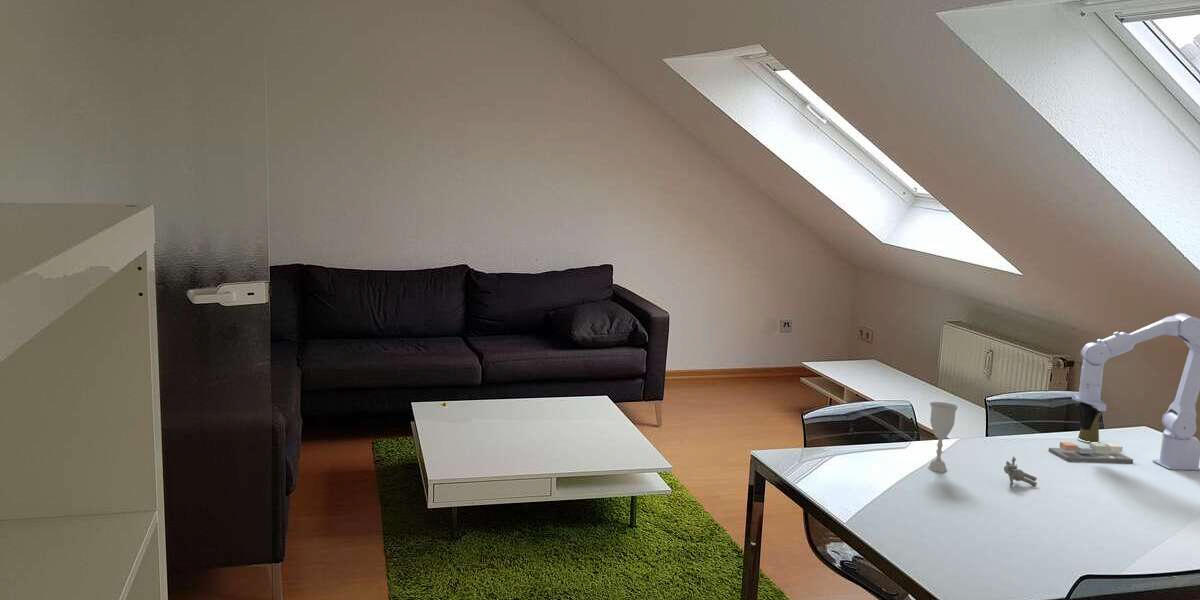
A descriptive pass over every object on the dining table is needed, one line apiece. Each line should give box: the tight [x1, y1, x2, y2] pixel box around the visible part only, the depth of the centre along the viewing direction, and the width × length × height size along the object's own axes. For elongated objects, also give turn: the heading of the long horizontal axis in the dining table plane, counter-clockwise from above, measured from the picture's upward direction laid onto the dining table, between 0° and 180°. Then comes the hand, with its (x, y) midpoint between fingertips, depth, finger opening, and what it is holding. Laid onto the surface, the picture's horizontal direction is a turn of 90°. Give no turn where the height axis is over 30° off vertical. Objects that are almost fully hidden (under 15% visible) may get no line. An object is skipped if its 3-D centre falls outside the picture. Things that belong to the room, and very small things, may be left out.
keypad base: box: [1048, 447, 1134, 464], centre depth 285 cm, size 20×10×1 cm, turn 94°
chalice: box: [927, 401, 959, 473], centre depth 265 cm, size 7×7×18 cm
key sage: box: [1088, 442, 1108, 452], centre depth 285 cm, size 3×3×2 cm
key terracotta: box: [1058, 441, 1078, 451], centre depth 285 cm, size 3×3×2 cm
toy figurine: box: [1003, 456, 1038, 488], centre depth 255 cm, size 10×6×9 cm
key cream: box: [1104, 442, 1123, 453], centre depth 285 cm, size 3×3×2 cm
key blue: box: [1076, 444, 1092, 454], centre depth 285 cm, size 3×3×2 cm
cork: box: [1077, 411, 1102, 442], centre depth 303 cm, size 6×6×11 cm
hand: (1085, 429), depth 284 cm, fingers closed
